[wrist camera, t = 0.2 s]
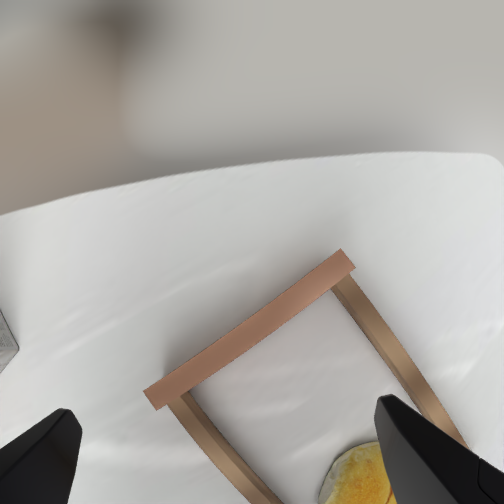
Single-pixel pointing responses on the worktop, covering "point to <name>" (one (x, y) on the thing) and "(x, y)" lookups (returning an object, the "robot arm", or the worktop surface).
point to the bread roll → (358, 478)
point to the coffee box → (6, 344)
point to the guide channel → (259, 327)
